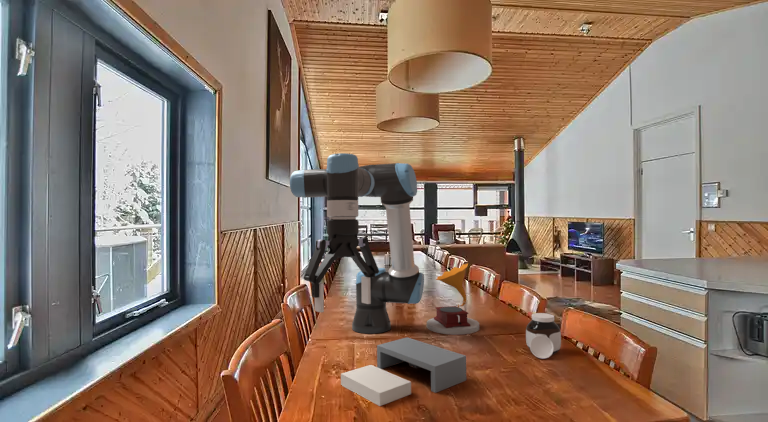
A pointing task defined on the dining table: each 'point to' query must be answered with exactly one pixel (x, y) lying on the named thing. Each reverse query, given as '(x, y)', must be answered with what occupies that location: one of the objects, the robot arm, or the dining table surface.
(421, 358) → the low overhang
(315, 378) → the dining table surface
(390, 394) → the pale grey flat slab
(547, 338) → the spread jar
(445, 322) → the gramophone
